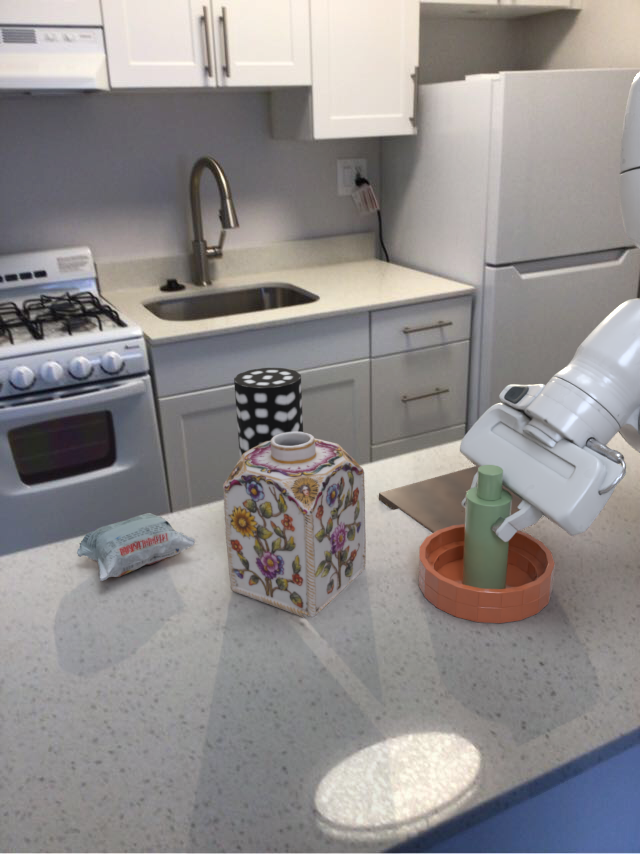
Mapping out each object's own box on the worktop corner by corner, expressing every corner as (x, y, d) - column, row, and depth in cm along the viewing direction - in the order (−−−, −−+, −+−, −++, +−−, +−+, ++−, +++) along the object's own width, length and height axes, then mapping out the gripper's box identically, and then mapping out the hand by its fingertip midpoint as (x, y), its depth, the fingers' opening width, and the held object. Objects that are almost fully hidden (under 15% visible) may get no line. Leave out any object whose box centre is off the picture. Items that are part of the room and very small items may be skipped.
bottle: (486, 567, 87) (493, 456, 82) (515, 588, 83) (524, 472, 78) (453, 579, 85) (457, 466, 80) (480, 601, 81) (487, 483, 76)
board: (490, 467, 115) (490, 461, 114) (569, 509, 101) (569, 503, 101) (378, 499, 106) (378, 492, 106) (448, 549, 93) (448, 542, 92)
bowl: (491, 544, 93) (493, 512, 92) (579, 603, 82) (583, 567, 80) (393, 577, 87) (394, 543, 86) (473, 646, 75) (475, 608, 74)
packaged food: (196, 560, 92) (192, 524, 90) (102, 595, 86) (96, 557, 84) (165, 533, 99) (161, 499, 97) (76, 564, 92) (70, 528, 91)
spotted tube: (253, 504, 106) (243, 367, 98) (311, 507, 104) (306, 368, 97) (237, 533, 98) (225, 387, 91) (300, 537, 97) (293, 388, 89)
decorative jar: (313, 625, 79) (307, 469, 73) (227, 593, 85) (214, 446, 79) (369, 571, 89) (368, 429, 82) (288, 546, 95) (281, 411, 88)
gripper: (651, 478, 73) (557, 586, 73) (528, 411, 91) (453, 498, 91) (618, 442, 70) (520, 555, 70) (498, 380, 88) (421, 471, 88)
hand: (482, 522), depth 81 cm, fingers closed on bottle, 5 cm apart
